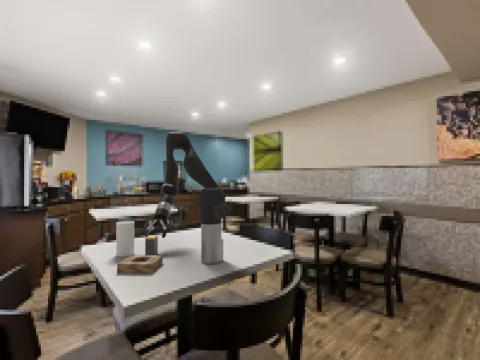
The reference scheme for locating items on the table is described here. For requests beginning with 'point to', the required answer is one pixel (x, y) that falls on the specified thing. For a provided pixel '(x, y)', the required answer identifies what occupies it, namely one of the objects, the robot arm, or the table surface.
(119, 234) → the cup
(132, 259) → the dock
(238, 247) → the table surface
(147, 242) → the block
